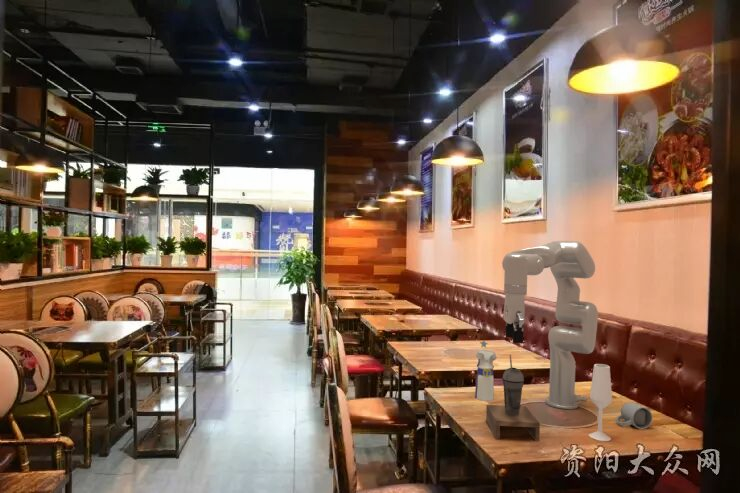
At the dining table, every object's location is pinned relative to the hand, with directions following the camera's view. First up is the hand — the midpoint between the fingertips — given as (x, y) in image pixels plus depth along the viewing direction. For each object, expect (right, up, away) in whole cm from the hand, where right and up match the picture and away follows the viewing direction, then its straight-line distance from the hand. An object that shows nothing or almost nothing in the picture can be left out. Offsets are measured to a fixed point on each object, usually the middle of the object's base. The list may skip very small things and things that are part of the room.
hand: (514, 339), depth 164 cm
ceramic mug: (+45, -33, +8) cm, 57 cm away
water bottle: (-1, -31, +35) cm, 47 cm away
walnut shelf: (-1, -31, 0) cm, 31 cm away
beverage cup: (-1, -25, 0) cm, 25 cm away
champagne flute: (+28, -32, -3) cm, 43 cm away
